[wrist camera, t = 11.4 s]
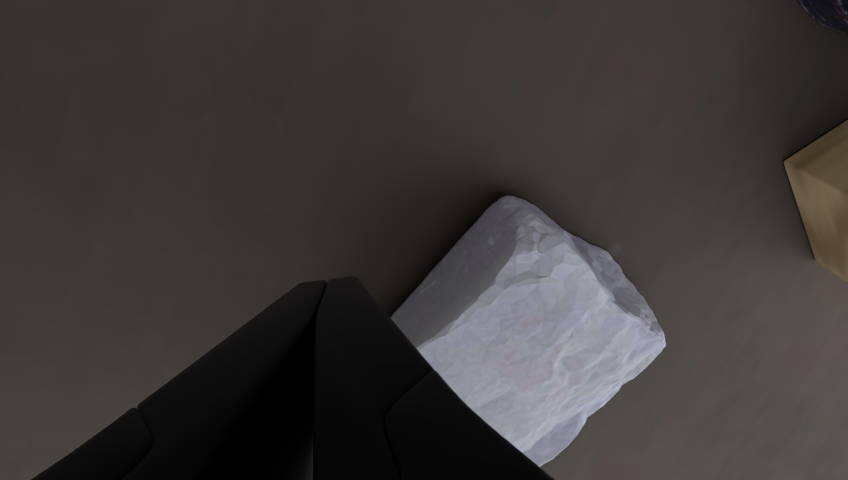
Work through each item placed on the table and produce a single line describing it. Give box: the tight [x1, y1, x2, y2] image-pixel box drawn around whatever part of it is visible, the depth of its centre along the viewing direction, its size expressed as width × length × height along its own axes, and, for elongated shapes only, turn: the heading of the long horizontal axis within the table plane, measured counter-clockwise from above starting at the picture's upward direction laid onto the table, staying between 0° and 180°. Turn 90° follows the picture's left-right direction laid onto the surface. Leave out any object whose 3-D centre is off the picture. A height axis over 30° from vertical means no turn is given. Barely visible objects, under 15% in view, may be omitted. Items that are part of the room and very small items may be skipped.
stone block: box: [391, 195, 666, 467], centre depth 25 cm, size 12×5×10 cm
